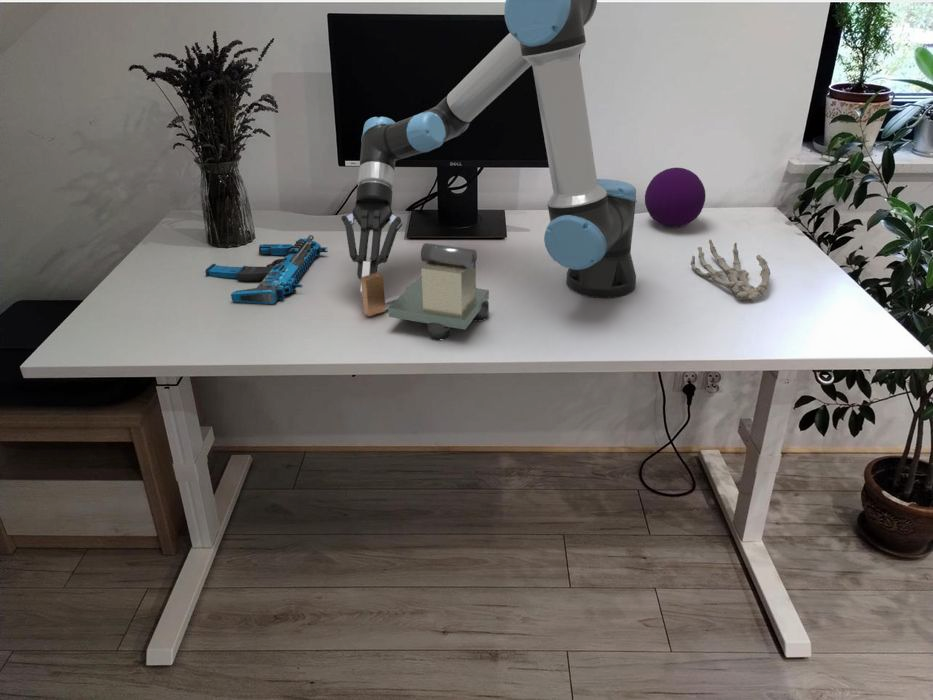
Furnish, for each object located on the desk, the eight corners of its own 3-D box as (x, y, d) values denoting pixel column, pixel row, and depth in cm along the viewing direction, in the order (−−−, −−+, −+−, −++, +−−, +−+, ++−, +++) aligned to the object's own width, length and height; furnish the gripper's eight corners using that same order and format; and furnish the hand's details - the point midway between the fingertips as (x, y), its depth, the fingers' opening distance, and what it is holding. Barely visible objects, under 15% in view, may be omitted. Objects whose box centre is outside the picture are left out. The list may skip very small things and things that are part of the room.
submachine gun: (239, 231, 198) (336, 229, 194) (242, 245, 200) (338, 244, 196) (180, 290, 168) (292, 290, 165) (184, 306, 170) (295, 306, 167)
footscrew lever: (420, 292, 171) (419, 257, 167) (432, 299, 167) (431, 264, 163) (360, 311, 163) (357, 275, 159) (372, 319, 160) (369, 282, 156)
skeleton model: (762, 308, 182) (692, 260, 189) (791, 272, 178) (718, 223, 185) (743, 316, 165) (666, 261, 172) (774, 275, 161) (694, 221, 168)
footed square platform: (491, 312, 163) (492, 233, 154) (467, 345, 151) (466, 262, 142) (417, 300, 168) (414, 223, 159) (388, 331, 156) (382, 250, 148)
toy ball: (679, 240, 196) (686, 182, 188) (630, 225, 205) (635, 168, 198) (712, 225, 204) (721, 168, 197) (664, 211, 214) (670, 156, 206)
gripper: (407, 196, 171) (399, 300, 165) (348, 195, 172) (338, 298, 166) (402, 180, 164) (393, 288, 158) (340, 179, 165) (329, 286, 159)
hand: (365, 293), depth 162 cm, fingers closed
